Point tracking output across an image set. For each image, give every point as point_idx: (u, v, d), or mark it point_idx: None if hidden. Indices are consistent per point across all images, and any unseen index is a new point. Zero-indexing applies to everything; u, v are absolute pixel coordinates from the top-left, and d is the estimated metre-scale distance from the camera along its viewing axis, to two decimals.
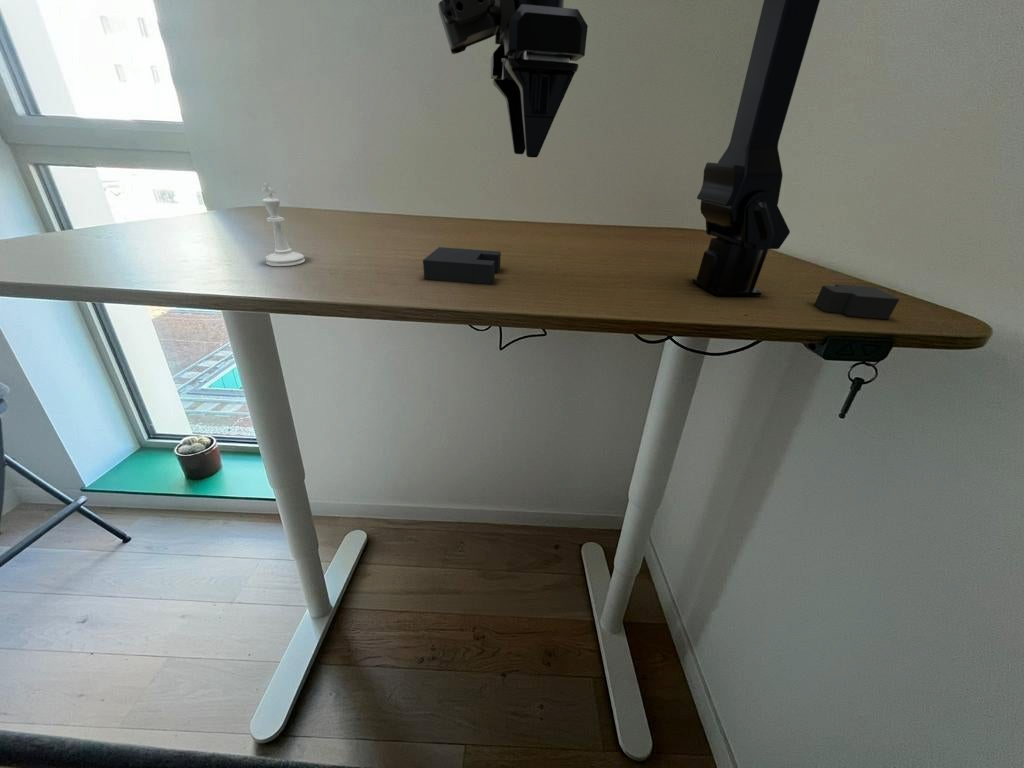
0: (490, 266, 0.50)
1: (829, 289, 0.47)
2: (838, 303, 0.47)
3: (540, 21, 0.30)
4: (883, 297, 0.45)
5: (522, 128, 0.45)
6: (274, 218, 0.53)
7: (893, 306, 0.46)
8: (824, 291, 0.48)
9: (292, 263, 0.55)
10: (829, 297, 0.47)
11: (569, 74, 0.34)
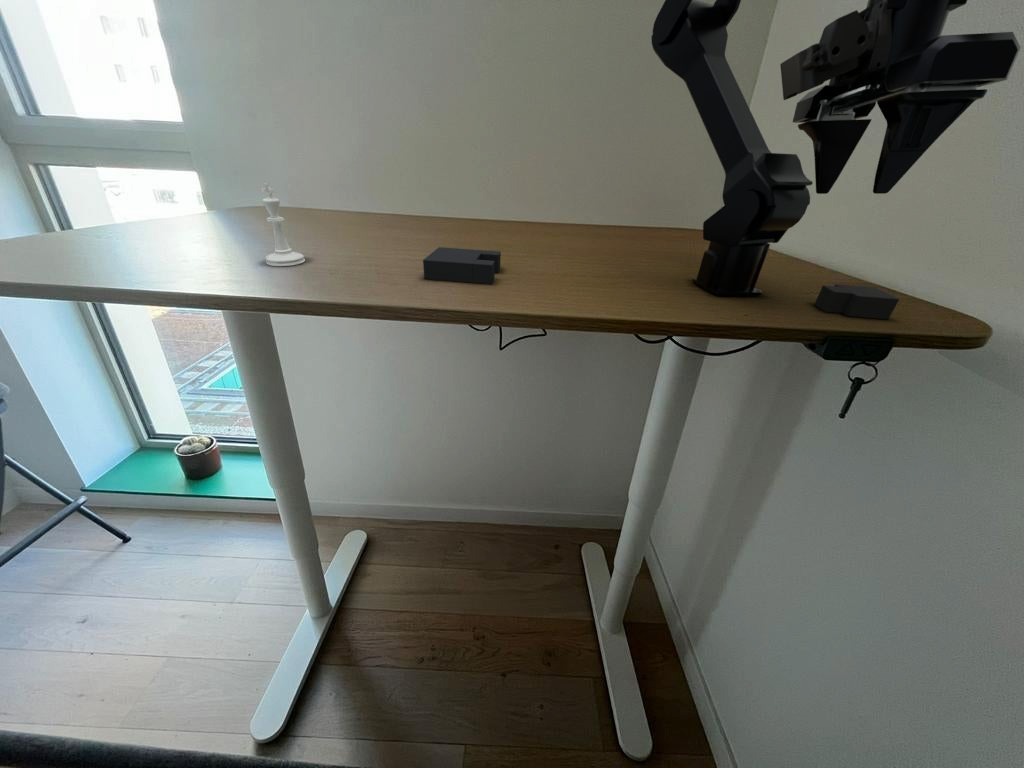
0: (490, 266, 0.50)
1: (829, 289, 0.47)
2: (838, 303, 0.47)
3: (964, 49, 0.28)
4: (883, 297, 0.45)
5: (832, 167, 0.43)
6: (274, 218, 0.53)
7: (893, 306, 0.46)
8: (824, 291, 0.48)
9: (292, 263, 0.55)
10: (829, 297, 0.47)
11: (967, 102, 0.31)
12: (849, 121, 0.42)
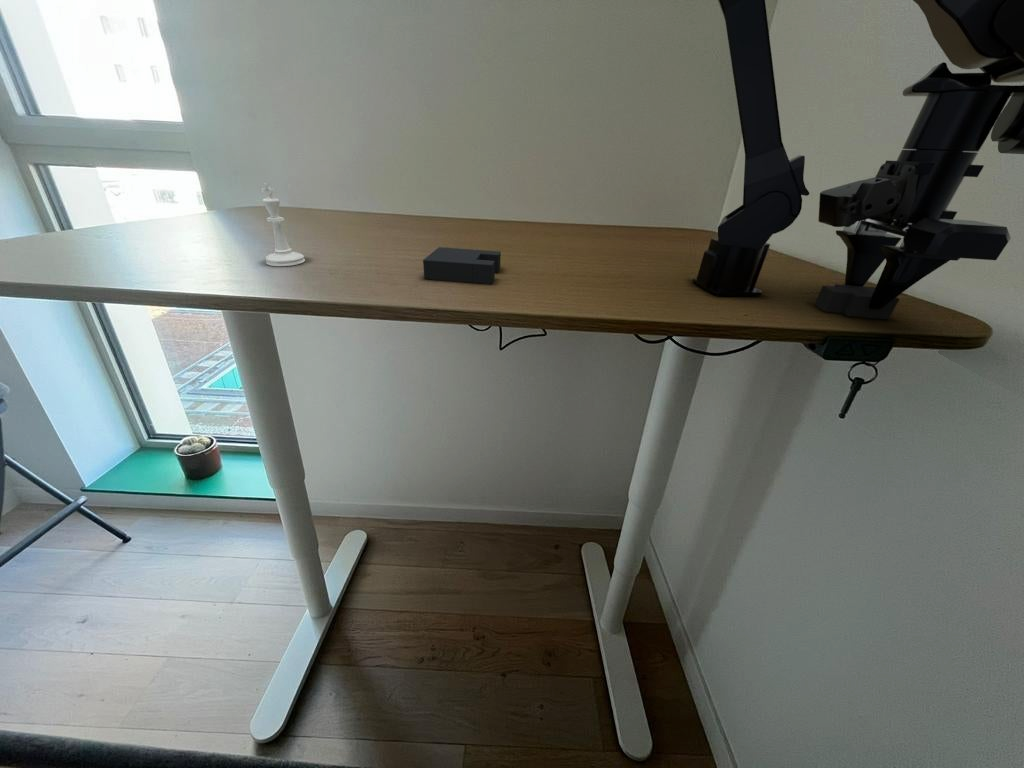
0: (490, 266, 0.50)
1: (829, 289, 0.47)
2: (838, 303, 0.47)
3: (968, 237, 0.35)
4: None
5: (861, 275, 0.48)
6: (274, 218, 0.53)
7: (893, 306, 0.46)
8: (825, 291, 0.48)
9: (292, 263, 0.55)
10: (829, 297, 0.47)
11: None
12: (882, 237, 0.47)
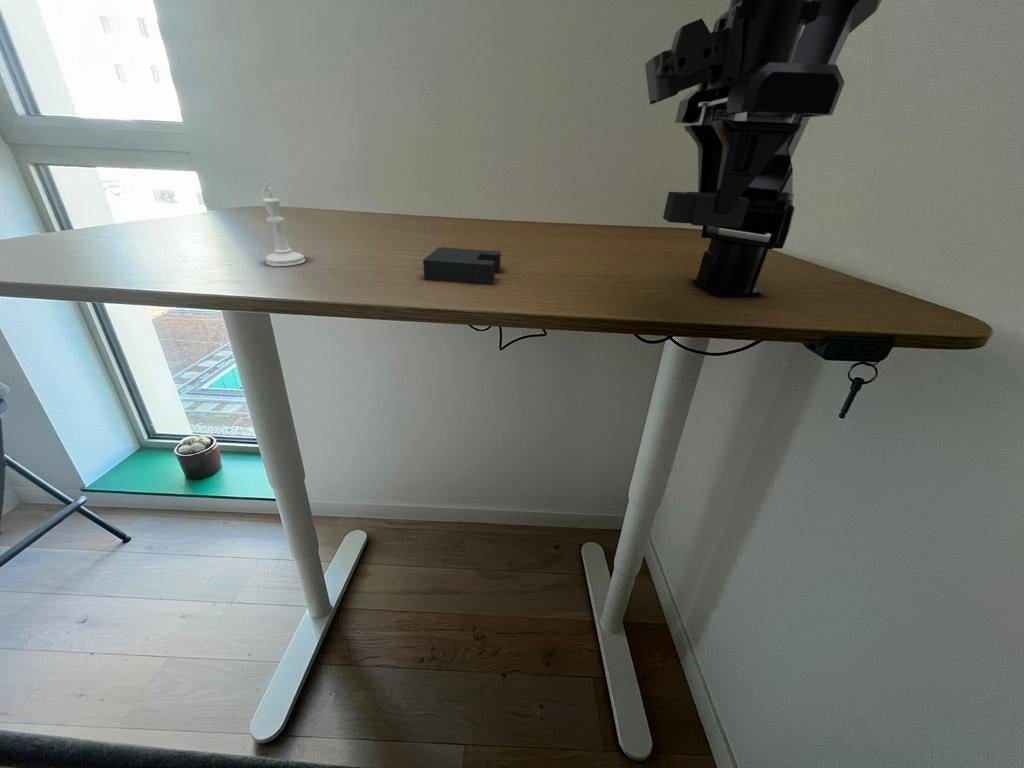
0: (490, 266, 0.50)
1: (672, 193, 0.38)
2: (682, 210, 0.38)
3: (788, 80, 0.26)
4: None
5: (714, 178, 0.40)
6: (274, 218, 0.53)
7: (744, 209, 0.37)
8: (669, 197, 0.39)
9: (292, 263, 0.55)
10: (671, 202, 0.38)
11: (787, 133, 0.32)
12: None
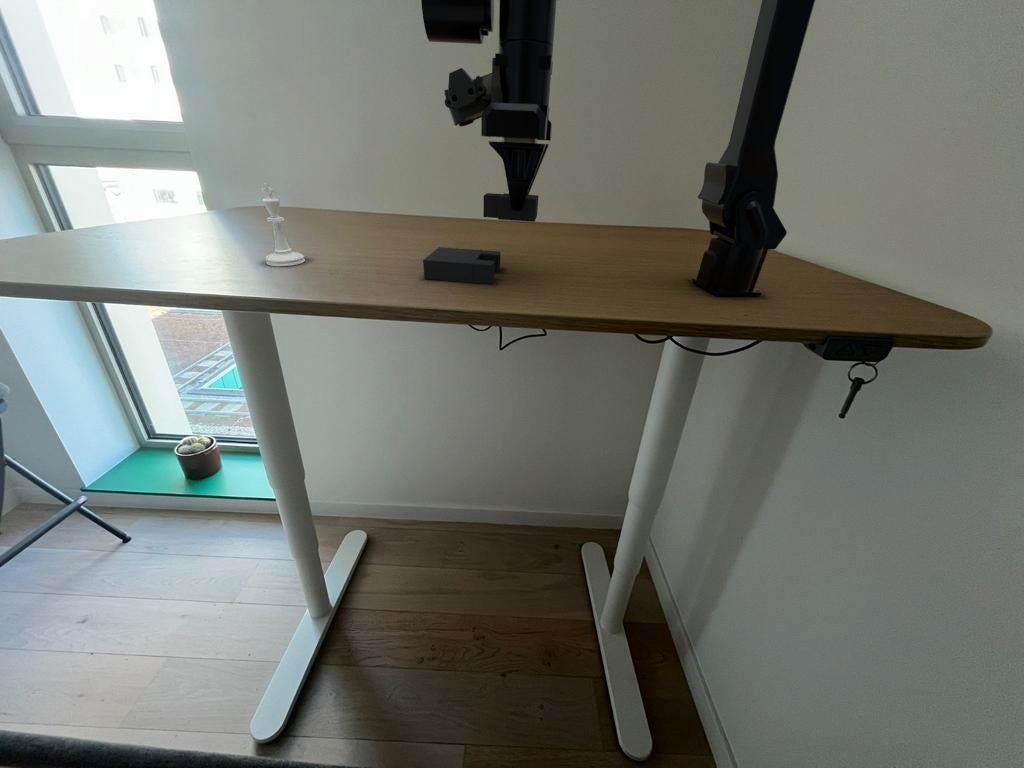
0: (490, 266, 0.50)
1: (485, 194, 0.49)
2: (491, 207, 0.49)
3: (504, 115, 0.37)
4: None
5: None
6: (274, 218, 0.53)
7: (533, 207, 0.48)
8: None
9: (292, 263, 0.55)
10: (484, 201, 0.49)
11: (539, 150, 0.42)
12: None
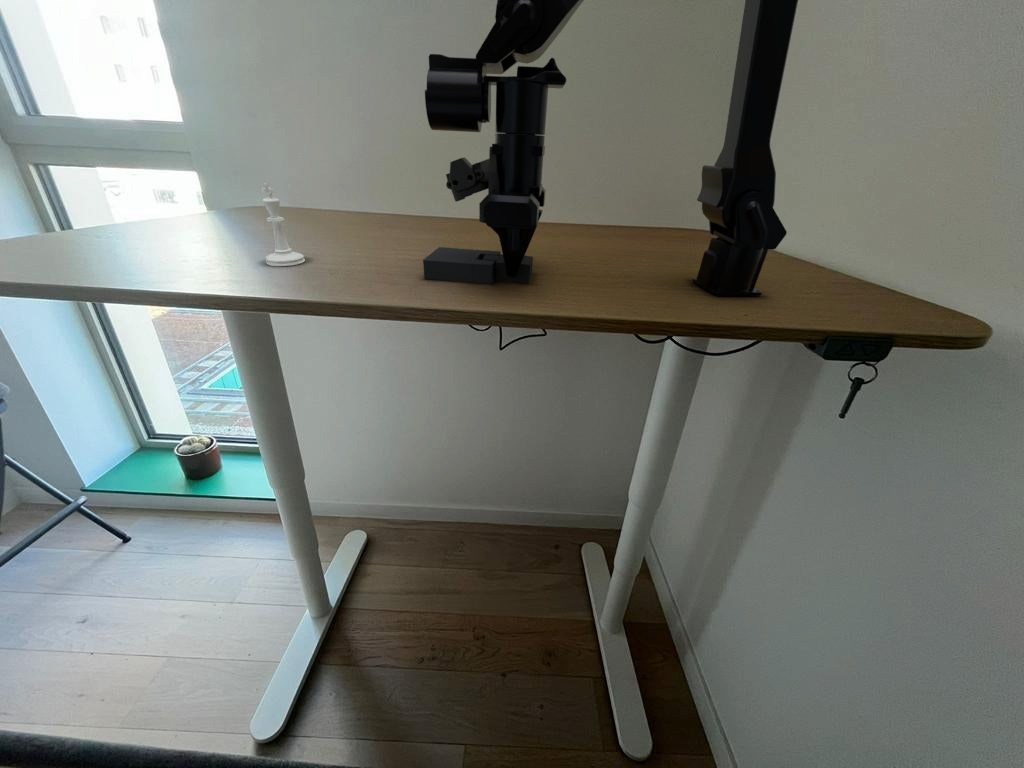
0: (490, 266, 0.50)
1: None
2: None
3: (500, 206, 0.41)
4: None
5: None
6: (274, 218, 0.53)
7: (528, 271, 0.52)
8: None
9: (292, 263, 0.55)
10: None
11: None
12: None
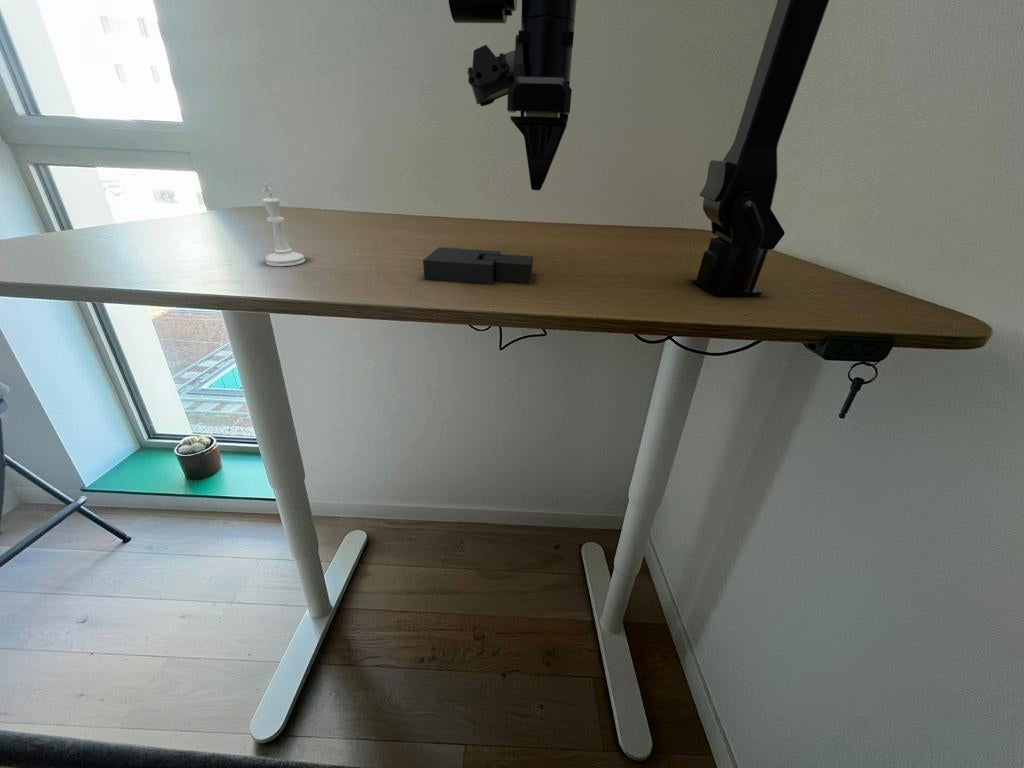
0: (490, 266, 0.50)
1: None
2: None
3: (530, 89, 0.38)
4: (518, 263, 0.51)
5: None
6: (274, 218, 0.53)
7: (528, 271, 0.52)
8: None
9: (292, 263, 0.55)
10: None
11: (562, 125, 0.41)
12: None
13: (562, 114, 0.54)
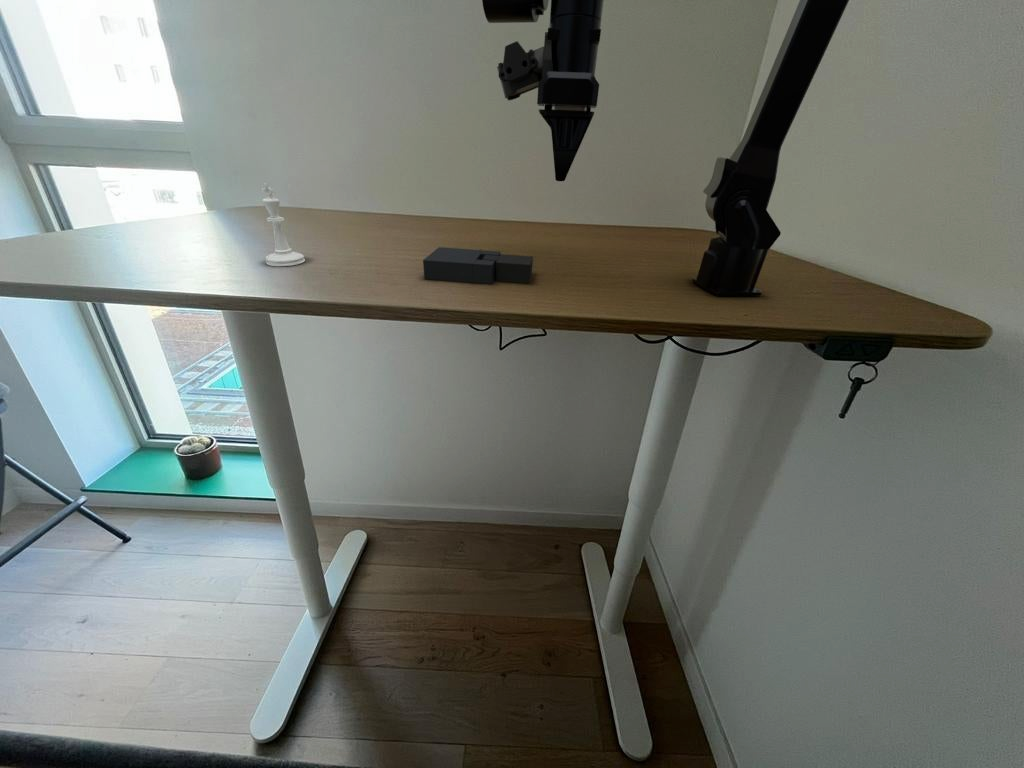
0: (490, 266, 0.50)
1: None
2: None
3: (560, 83, 0.40)
4: (518, 263, 0.51)
5: None
6: (274, 218, 0.53)
7: (528, 271, 0.52)
8: None
9: (292, 263, 0.55)
10: None
11: (588, 119, 0.43)
12: None
13: None
